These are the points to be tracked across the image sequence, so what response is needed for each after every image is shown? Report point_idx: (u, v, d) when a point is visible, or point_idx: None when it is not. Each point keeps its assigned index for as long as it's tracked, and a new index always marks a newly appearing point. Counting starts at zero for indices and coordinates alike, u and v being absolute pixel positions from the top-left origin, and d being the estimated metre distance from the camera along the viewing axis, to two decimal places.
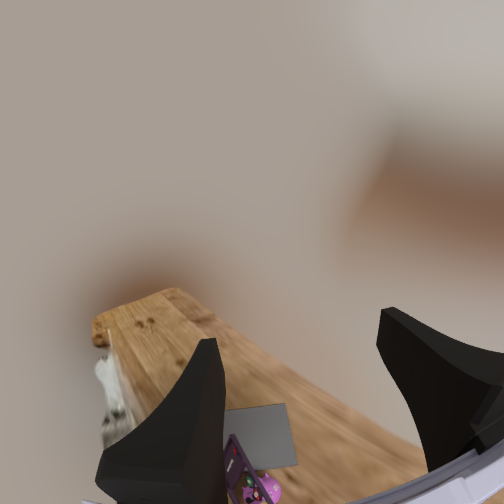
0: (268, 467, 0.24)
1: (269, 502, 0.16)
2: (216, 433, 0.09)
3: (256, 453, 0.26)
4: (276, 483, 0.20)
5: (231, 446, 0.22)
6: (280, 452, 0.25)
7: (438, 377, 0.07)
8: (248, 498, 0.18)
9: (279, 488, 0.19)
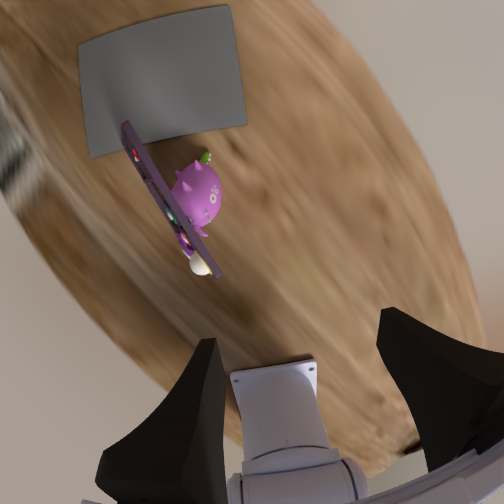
0: (200, 130, 0.17)
1: (207, 261, 0.14)
2: (216, 433, 0.09)
3: (181, 103, 0.17)
4: (213, 184, 0.16)
5: None
6: (220, 100, 0.17)
7: (438, 377, 0.07)
8: (175, 222, 0.16)
9: (218, 193, 0.17)
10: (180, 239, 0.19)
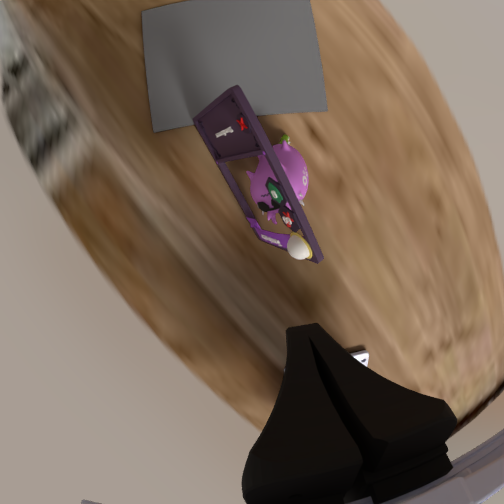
0: (281, 111, 0.17)
1: (311, 243, 0.14)
2: None
3: (261, 82, 0.16)
4: (303, 167, 0.15)
5: (229, 105, 0.12)
6: (301, 83, 0.16)
7: (339, 409, 0.07)
8: (264, 203, 0.15)
9: (307, 176, 0.16)
10: (255, 225, 0.18)
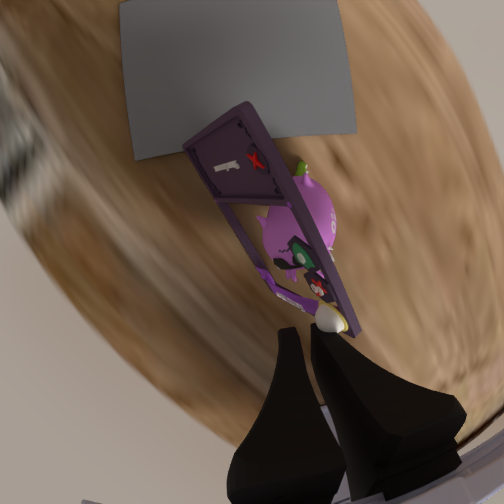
0: (299, 133, 0.13)
1: (349, 317, 0.10)
2: None
3: (274, 94, 0.12)
4: (331, 208, 0.12)
5: (234, 131, 0.08)
6: (325, 97, 0.12)
7: (350, 406, 0.07)
8: (282, 260, 0.12)
9: (335, 219, 0.12)
10: (267, 277, 0.15)
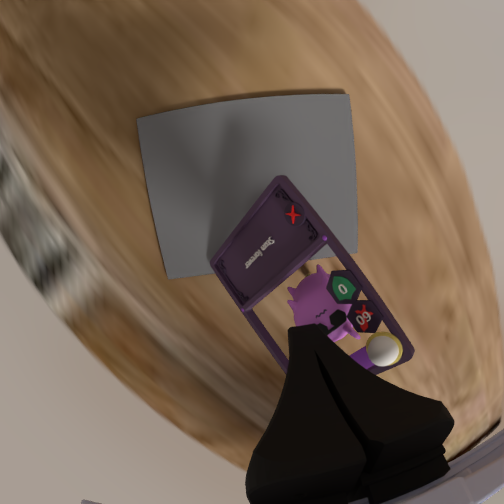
0: None
1: (399, 333, 0.10)
2: None
3: None
4: None
5: (271, 206, 0.12)
6: (333, 224, 0.16)
7: None
8: (321, 325, 0.12)
9: None
10: None
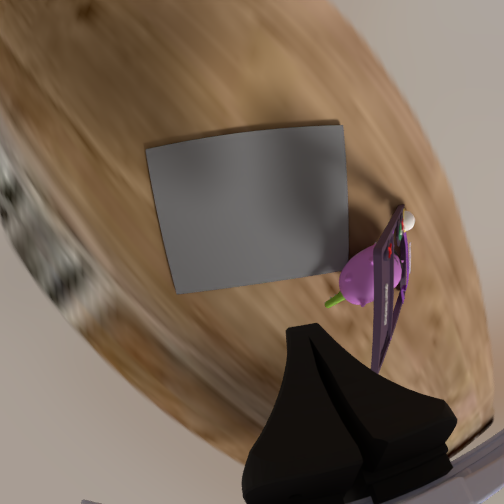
0: (303, 275, 0.18)
1: (401, 207, 0.17)
2: None
3: (285, 247, 0.17)
4: (352, 258, 0.17)
5: None
6: (326, 245, 0.18)
7: (339, 409, 0.07)
8: (400, 262, 0.16)
9: None
10: (404, 289, 0.18)
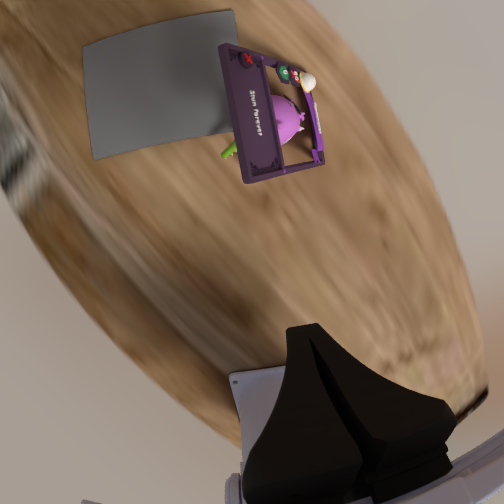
0: (203, 134, 0.18)
1: None
2: None
3: (184, 107, 0.17)
4: None
5: (233, 71, 0.11)
6: (223, 104, 0.17)
7: (339, 409, 0.07)
8: (295, 107, 0.16)
9: None
10: (316, 149, 0.18)
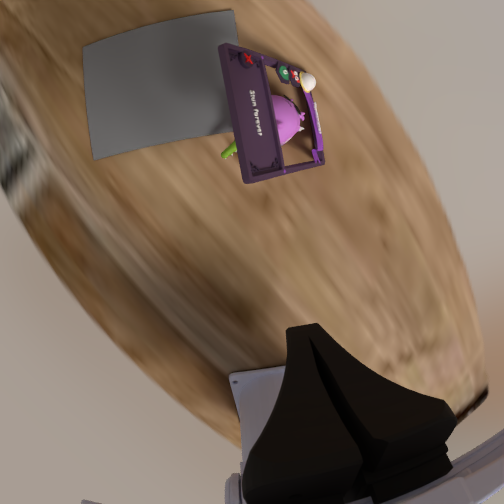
0: (203, 134, 0.18)
1: None
2: None
3: (184, 107, 0.17)
4: None
5: (233, 71, 0.11)
6: (223, 104, 0.17)
7: (339, 409, 0.07)
8: (295, 107, 0.16)
9: None
10: (316, 149, 0.18)
